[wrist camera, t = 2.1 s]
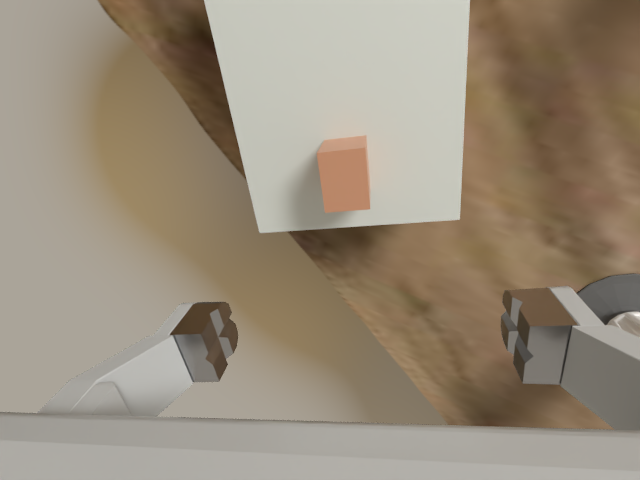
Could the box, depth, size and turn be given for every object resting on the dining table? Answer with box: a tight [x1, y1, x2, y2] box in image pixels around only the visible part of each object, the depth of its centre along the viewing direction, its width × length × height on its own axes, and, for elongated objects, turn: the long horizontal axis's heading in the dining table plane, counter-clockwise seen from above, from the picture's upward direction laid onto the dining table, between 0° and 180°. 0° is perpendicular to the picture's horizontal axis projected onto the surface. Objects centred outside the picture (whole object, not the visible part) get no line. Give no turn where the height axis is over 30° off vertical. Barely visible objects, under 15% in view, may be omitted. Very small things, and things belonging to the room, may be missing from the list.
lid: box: [204, 0, 470, 233], centre depth 21 cm, size 22×16×5 cm
